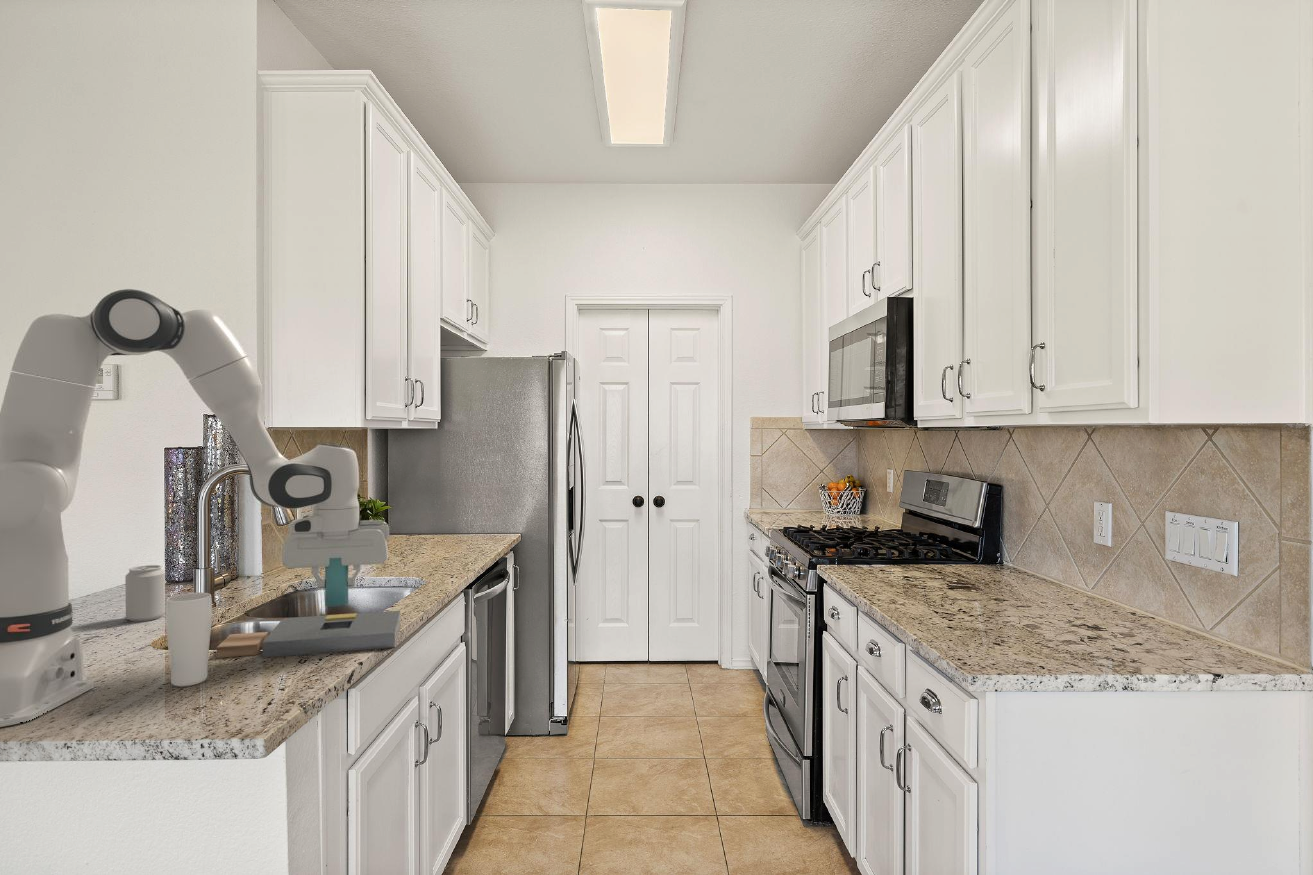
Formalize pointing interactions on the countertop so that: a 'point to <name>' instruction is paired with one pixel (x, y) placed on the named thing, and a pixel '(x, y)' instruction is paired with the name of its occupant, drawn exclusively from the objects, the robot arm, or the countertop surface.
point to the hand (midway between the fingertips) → (336, 587)
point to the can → (145, 593)
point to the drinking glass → (188, 637)
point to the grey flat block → (332, 634)
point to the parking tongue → (241, 644)
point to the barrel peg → (336, 583)
